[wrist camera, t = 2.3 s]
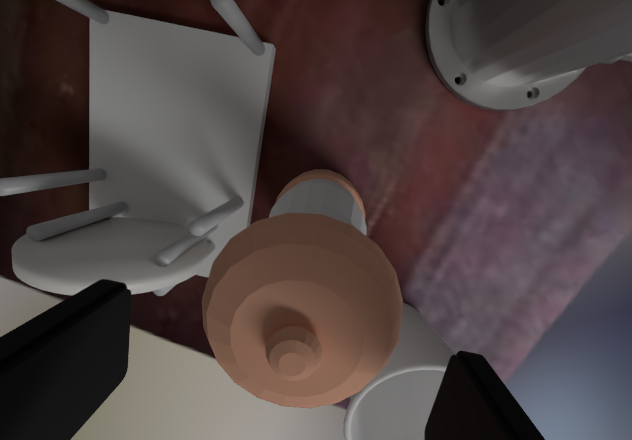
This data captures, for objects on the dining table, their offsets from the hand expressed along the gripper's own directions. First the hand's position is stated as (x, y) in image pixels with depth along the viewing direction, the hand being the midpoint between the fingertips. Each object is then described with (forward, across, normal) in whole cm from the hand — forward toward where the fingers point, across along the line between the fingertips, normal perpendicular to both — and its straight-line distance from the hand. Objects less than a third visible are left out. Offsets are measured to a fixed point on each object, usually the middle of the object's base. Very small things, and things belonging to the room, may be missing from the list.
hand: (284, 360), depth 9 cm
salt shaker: (+19, 0, -1) cm, 19 cm away
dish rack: (+19, +13, -3) cm, 23 cm away
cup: (+19, -9, +9) cm, 23 cm away
